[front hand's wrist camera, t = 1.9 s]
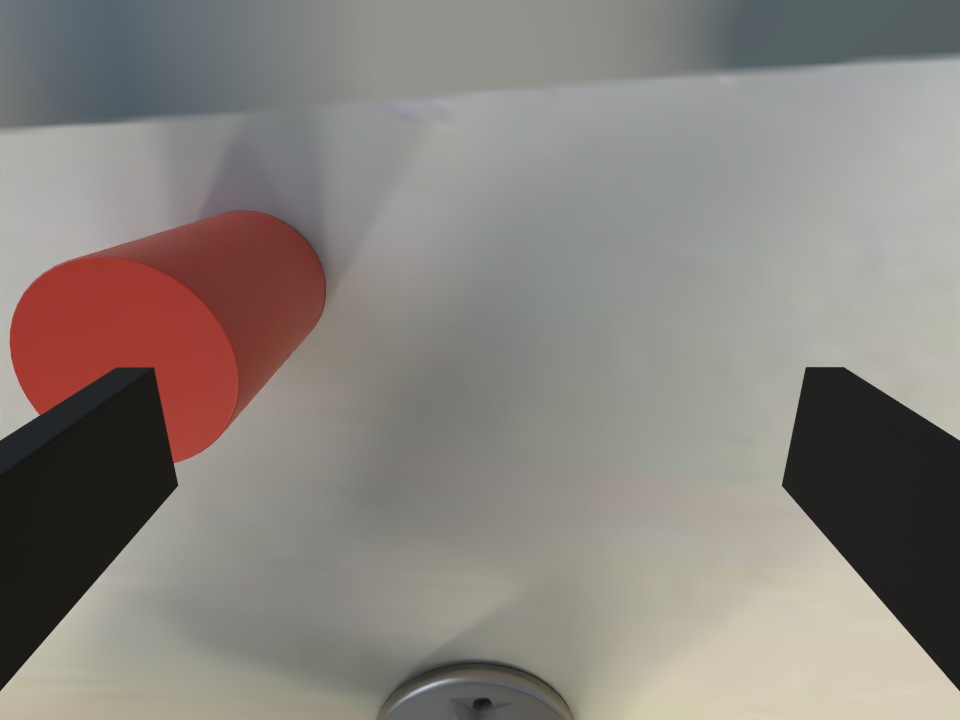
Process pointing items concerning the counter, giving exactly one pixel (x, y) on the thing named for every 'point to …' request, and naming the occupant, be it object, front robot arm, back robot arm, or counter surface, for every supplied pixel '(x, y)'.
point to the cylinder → (174, 319)
